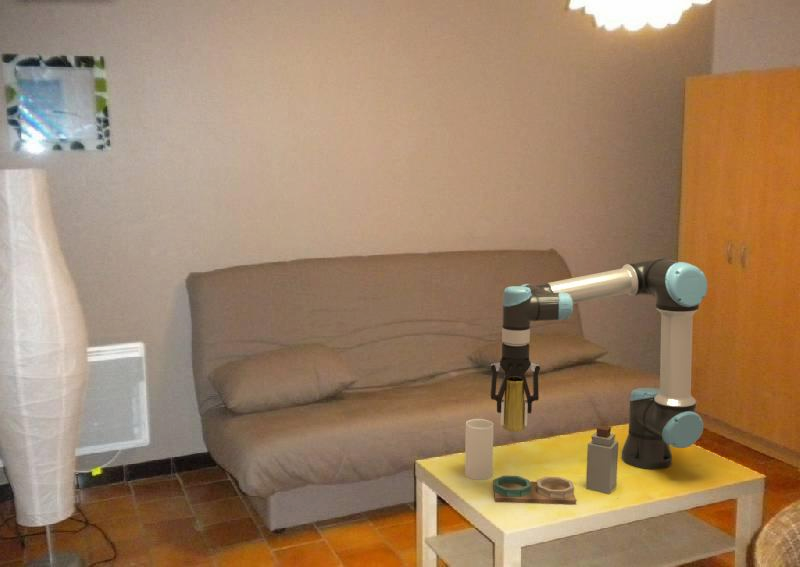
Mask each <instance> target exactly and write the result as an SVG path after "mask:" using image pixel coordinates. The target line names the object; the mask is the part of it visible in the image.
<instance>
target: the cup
mask: <svg viewBox="0 0 800 567" xmlns="http://www.w3.org/2000/svg"><path fill="white" fill-rule="evenodd" d="M464 448H465V451H464V452H465V453H464V454H465V455H464V456H465V457H464V458H465V460H464V463H465V465H464V476H466V477H467V478H469V479H471V480H475V481H484V480H488V479H490V478H492V477H493V474H494V473H493V469H494V468H493V467H494V464H493V463H494V422H493V421H491V420H489V419H488V420H487V419H483V418H473V419H469V420H467V421H466V422H465V447H464Z"/></svg>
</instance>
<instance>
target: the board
mask: <svg viewBox="0 0 800 567" xmlns="http://www.w3.org/2000/svg"><path fill="white" fill-rule="evenodd" d="M492 482H493V483H492V484H493V493H494V494H493V495H494V500H495V503H512V504H513V503H518V504H520V503H522V504H523V503H524V504H547V505H548V504H550V505H553V504H554V505H577V499H576V496H575V486H574V483H573V481H572V480H569V479H567V478H564V477H561V476H544V477H542V478H540V479H537V480H536V481H535V480H534V481H530V480H529V479H527V478H524V477H522V476H520V475H502V476H501V475H500V476H498V477H496V478H494V479H493V480H492Z"/></svg>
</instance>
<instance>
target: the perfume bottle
mask: <svg viewBox="0 0 800 567" xmlns="http://www.w3.org/2000/svg"><path fill="white" fill-rule="evenodd" d="M611 430H612V426H608V425H607V426H606V425H601V424H600V425H598V426H597V427H596V430H595V432H594V433H593V434H591V436H590V438H591V441H589V442H588V443H587V455H586V476H585V477H586V482H585V490H589V491H594V492H597V493H602V494H606V495H610V494H611V492H613V491H614V489H615V488H616V487H617V478H618V476H617V474H618V461H619V460H618V458H619V457H618V456H619V441H617V440H615V438H616V436H617V435H616V433H613V432H611Z"/></svg>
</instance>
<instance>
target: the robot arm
mask: <svg viewBox="0 0 800 567" xmlns="http://www.w3.org/2000/svg"><path fill="white" fill-rule="evenodd" d="M706 277H707V276H706V275H705V273H704V272H703V271H702V270H701V268H699V267H697V266H696V265H693V264H692V263H689V262H686V261H685V262H684V261H679V260H673V259H668V258H663V257H662V258H661V257H659V258H651V259H646V260H641V261H637V262H632V263H626V264H624V265H623V266H622V268H619V269H618V268H617V269H613V270H608V271H603V272H598V273H592V274H587V275H582V276H577V277H576V276H575V277H572V278H566V279H561V280H557V281H550V282H545V283H540V284H532V283H525V284H522V285H520V286H519V285H518V286H517V285H516V286H515V285H513V286H508V287H507V286H506V288H504V290H503V295H502V329H501V333H502V334H501V335H502V336H501V342H502V344H501V358H500V360H499V362H495V363H494V362H492V363H490V369H491V385H490V399H491V400H492V401H495V402H496V411H497V414H498V413H499V414H500V426H503V425H504V402H505V399H503V397H504V396H505V389H506V386H507V380H509V378H510V377H513V376H515V377H521V380H522V381H523V380H524V382H523V387H524V395H525V397H526V400H525V399H524V426H525V427H527V426H528V414H531V413H532V407H533V402H535V401H536V402H538V400H540V399H539V398H540V396H539V373H540V370H541V366H540V364H539V363H533V362H531V360H530V344H529V343H530V340H531V339H530V337H531V322H543V321H546V322H547V321H559V322H560V321H563V320H569V319H570V318H571V317H572V315H573V313H574V312H573V311H574V304H579V303H584V302H589V301H594V300H599V299H605V298H610V297H615V296H621V295H626V294H627V295H628V296H630V297H634V296H638V295H640V296H642V295H644V296H645V295H646V296H651V297H655V309H656V310H657V311H658V312H659V313H660V316H661V317H660V318H661V319H660V354H659V355H660V361H659V362H660V364H659V366H660V369H659V387H640V388H639V387H638V388H635V389H633V390H632V391H631V392H630V397H629V417H628V433H627V438H626V439H625V442H624V444H623V447H622V450H621V459H622V461H623V462H624V463H626V464H628V465H630V466H633V467H636V468H641V469H648V470H660V469H662V470H663V469H665V468H668V467H670V466H672V464H673V455H672V450H671V448H670V446H672V447H674V448H675V449H685V448H688V447H691V446H693V445H694V444H695V443H696V442H697V441H698V440H699V439H700V437H701V436H702V434H703V432H704V422H703V419H702V417H701V416H700V415H699V413H697V412H696V411H697V406H696V405H697V400H696V398H694V396H692V393H691V391H692V390H691V389H692V362H693V358H692V356H693V355H692V354H693V321H694V318H693V317H694V314H695V313H697V312H698V311H699V307H700V304H701V302H702V301H703V299H704V298H706V296H707V292H708V288H709V286H708V279H707V278H706ZM500 368H501V369H502V371H504V373H503V374H504V375H503V378H502V380H501V381H502V382H501V384H500V386H499V390H498V393H497V378H498V372H499V371H500ZM529 369H530V371H531V372H532V390H533V391H532V392H533V394H532V395H531V392H530V389H529V385H528V382H527V378H526V373H527V371H528V370H529ZM496 393H497V394H496Z"/></svg>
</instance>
